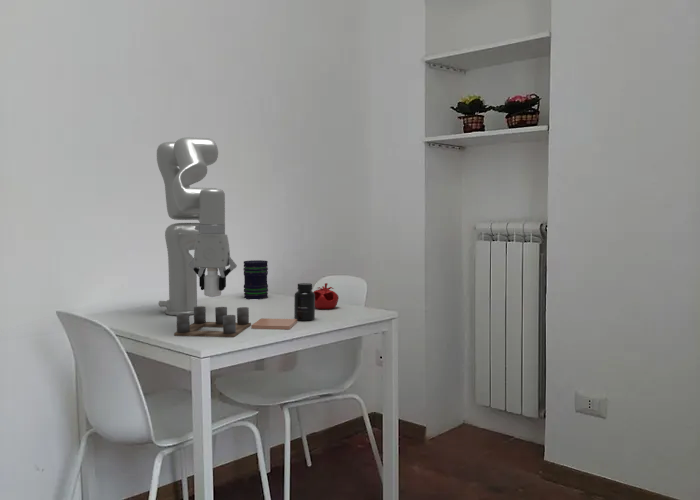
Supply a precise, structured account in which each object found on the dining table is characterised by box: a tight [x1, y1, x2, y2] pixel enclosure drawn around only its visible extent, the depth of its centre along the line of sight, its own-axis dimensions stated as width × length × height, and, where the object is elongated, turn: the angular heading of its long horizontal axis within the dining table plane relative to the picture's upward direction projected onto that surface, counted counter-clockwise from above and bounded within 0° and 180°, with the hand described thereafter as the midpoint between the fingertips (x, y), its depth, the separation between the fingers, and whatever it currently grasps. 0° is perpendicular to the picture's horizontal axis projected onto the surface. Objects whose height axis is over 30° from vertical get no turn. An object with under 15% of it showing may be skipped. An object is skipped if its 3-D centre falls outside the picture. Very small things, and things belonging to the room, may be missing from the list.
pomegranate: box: [313, 282, 339, 310], centre depth 237 cm, size 10×10×9 cm
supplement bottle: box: [293, 282, 316, 322], centre depth 213 cm, size 7×7×12 cm
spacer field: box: [173, 305, 252, 338], centre depth 195 cm, size 18×18×6 cm
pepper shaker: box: [203, 268, 222, 298], centre depth 195 cm, size 4×4×10 cm
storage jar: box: [242, 259, 269, 300], centre depth 262 cm, size 10×10×15 cm
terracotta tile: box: [250, 317, 298, 330], centre depth 204 cm, size 12×12×1 cm
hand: (212, 289), depth 195 cm, fingers closed on pepper shaker, 5 cm apart
